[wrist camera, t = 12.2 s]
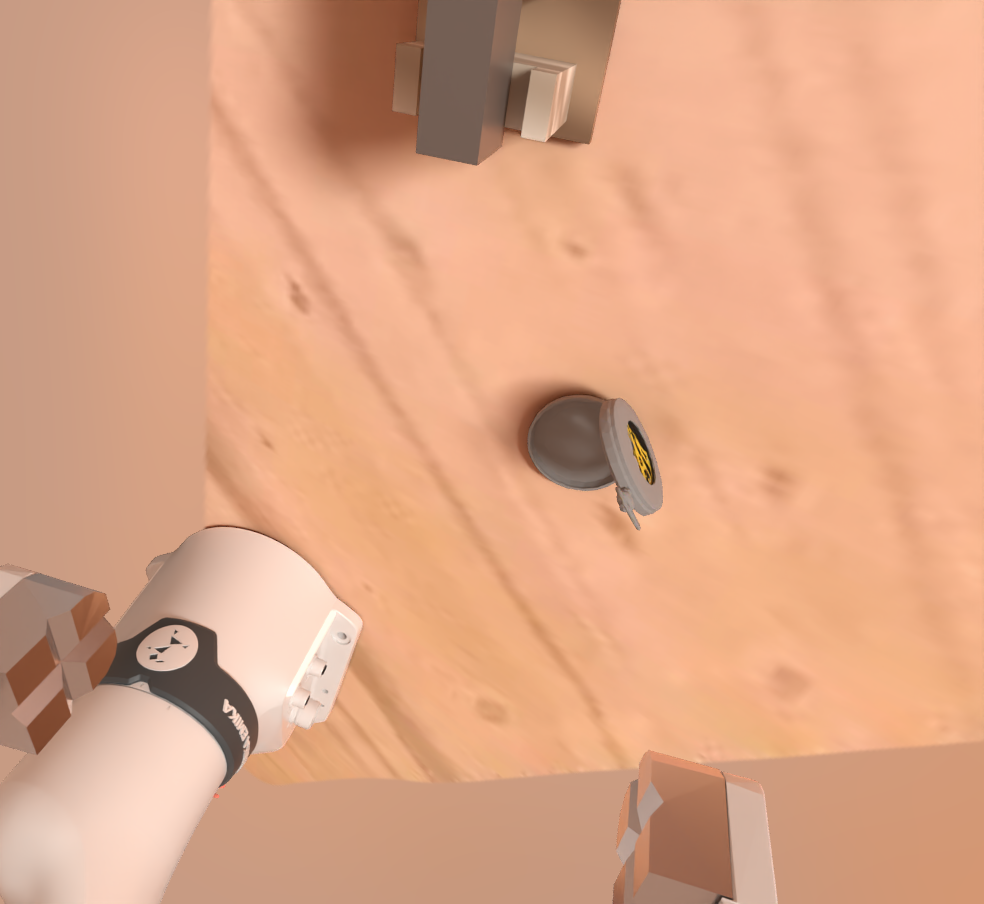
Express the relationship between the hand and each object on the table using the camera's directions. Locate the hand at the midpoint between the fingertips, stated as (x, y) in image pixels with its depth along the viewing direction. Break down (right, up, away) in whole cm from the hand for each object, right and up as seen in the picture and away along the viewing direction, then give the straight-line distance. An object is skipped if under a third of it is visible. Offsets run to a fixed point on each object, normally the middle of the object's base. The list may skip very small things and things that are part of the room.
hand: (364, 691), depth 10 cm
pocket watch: (+9, +5, +33) cm, 34 cm away
